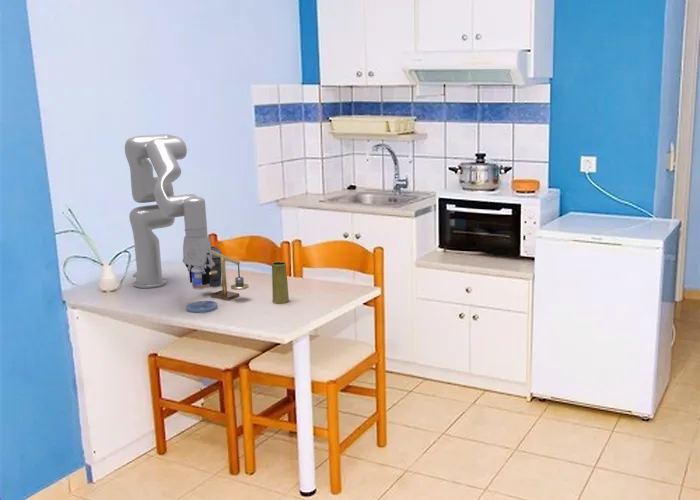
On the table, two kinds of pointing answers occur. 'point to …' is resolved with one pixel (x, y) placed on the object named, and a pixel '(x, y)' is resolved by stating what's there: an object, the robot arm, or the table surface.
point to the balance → (238, 280)
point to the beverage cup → (215, 268)
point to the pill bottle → (197, 278)
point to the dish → (201, 306)
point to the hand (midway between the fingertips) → (200, 282)
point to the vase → (279, 283)
